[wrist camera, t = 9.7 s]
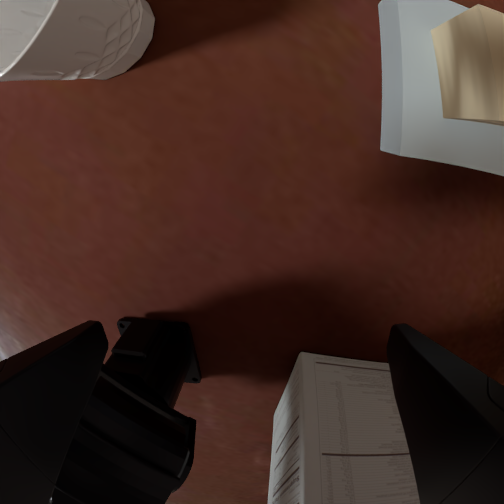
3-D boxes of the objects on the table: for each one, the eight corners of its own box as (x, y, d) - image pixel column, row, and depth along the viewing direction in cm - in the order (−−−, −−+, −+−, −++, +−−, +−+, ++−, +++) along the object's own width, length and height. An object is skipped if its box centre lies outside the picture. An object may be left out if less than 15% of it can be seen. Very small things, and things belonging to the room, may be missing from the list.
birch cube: (507, 127, 11) (564, 136, 7) (443, 118, 12) (499, 120, 8) (497, 47, 10) (550, 36, 5) (430, 30, 10) (478, 4, 6)
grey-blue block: (496, 171, 16) (528, 183, 12) (378, 149, 17) (400, 155, 13) (495, 45, 12) (527, 38, 8) (376, 6, 13) (394, -17, 9)
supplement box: (271, 415, 26) (253, 576, 11) (298, 348, 23) (292, 568, 7) (361, 424, 26) (375, 570, 11) (403, 362, 23) (453, 541, 7)
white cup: (179, 50, 15) (87, -2, 6) (85, 108, 17) (-28, 116, 8) (146, -28, 13) (66, -90, 4) (61, 30, 15) (-35, 11, 6)
